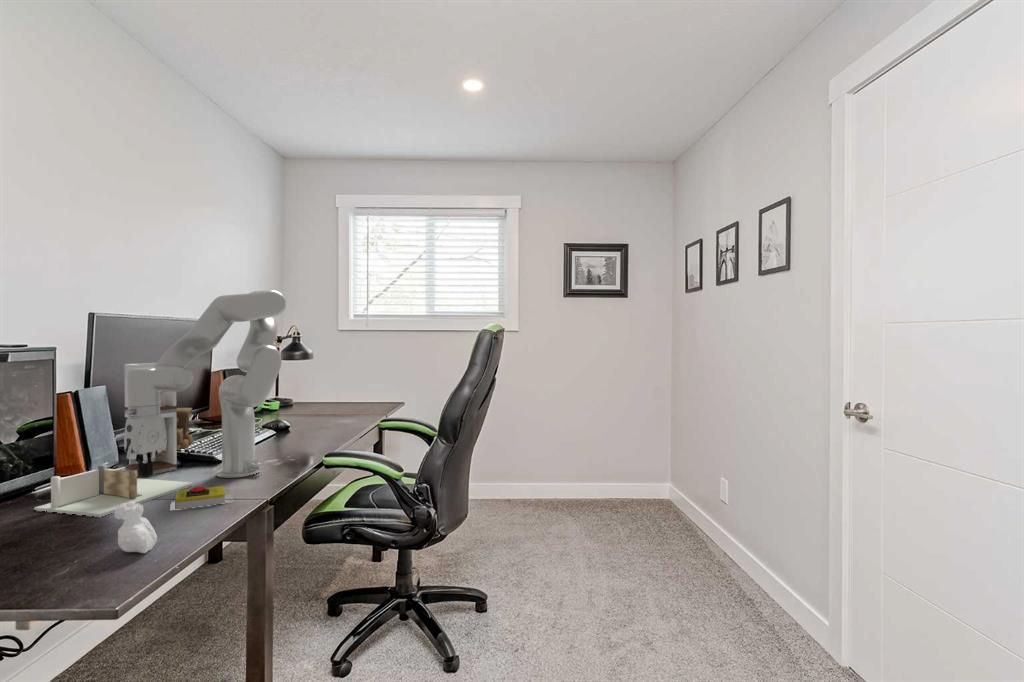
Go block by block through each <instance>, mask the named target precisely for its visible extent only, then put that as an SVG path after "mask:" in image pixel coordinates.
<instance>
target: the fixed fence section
mask: <svg viewBox="0 0 1024 682" xmlns="http://www.w3.org/2000/svg"><path fill="white" fill-rule="evenodd" d="M107 465H108V464H98V465H97V469H94V470H93V469H92V470H89V471H88V470H87V471H84V472H80V473H78V474H77V473H76V474H73V475H68V476H65V477H61V476H60V475H59V476H58V475H56V476H51V477H50V503H51V508H58V507H60V506H63V505H66V504H70V503H73V502H76V501H80V500H83V499H86V498H90V497H93V496H96V495H99V494H104V469H108V468H107V467H108V466H107Z"/></svg>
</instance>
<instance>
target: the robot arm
mask: <svg viewBox="0 0 1024 682" xmlns="http://www.w3.org/2000/svg"><path fill="white" fill-rule="evenodd" d="M286 306H287V300H286V298H285V296H284V295H283V294H282V292H280V291H277V290H273V289H272V290H271V289H270V290H268V289H267V290H256V291H251V292H249V293H241V294H226V295H225V294H224V295H219V296H218V297H215V299H213V301H212V302H210V304H209V305H208V307H207V308H206V309H205V310H204V312H203V313H202V314H201V315H200V316H199V318H198V320H197V321H196V322H195V323H194V324H193V326H192V327H191V329H189V331H188V332H187V333H185V334H183V335H182V337H180V338H179V339H178V340H177V341H176V342H175V343H173V345H171V346H170V347H169V348H168V349H167V350H166V351H165V352H164V353H163V355H162V356H161V357H160V358H159V359H158V361H157V362H155V363H156V364H155V366H154V367H153V368H150V367H147V368H133V369H130V370H129V371H128V373H127V386H128V410H127V411H126V414H127V415H128V418H127V417H126V421H125V426H124V435H123V436H124V437H123V443H124V444H123V446H124V452H125V453H126V459H127V460H129V459H134V460H135V461H136V463H138V466H139V476H138V477H139V478H149V477H151V476H153V475H154V474H153V462H152V461H154V460H155V456H156V455H157V453H159V452H161V451H162V450H163V448H165V447H166V445H167V438H166V428H165V422H164V418H163V415H162V414H160V391H171V392H176V393H178V392H183V391H185V390H186V389H189V387H191V385H192V383H193V381H194V376H193V373H192V372H191V371H190V369H188V368H187V366H188V365H189V364H190V363H191V362H193V360H195V359H197V358H198V357H199V356H201V355H203V354H206V353H208V352H210V351H211V350H213V349H214V348H216V347H217V346H218V344H219V343H220V342H221V340H222V339H223V337H224V336H225V335H226V334H227V332H228V331H229V329H230V328H231V327H232V325H233V324H235V323H241V322H242V323H243V322H249V330H248V332H247V335H246V338H245V339H244V342H243V344H242V346H241V348H240V350H239V352H238V355H237V358H236V365H237V367H238V368H239V370H240V371H242V372H245V373H246V374H245V375H242V374H241V375H239V374H234V375H231V376H228V377H226V378H225V379H224V380H223V381H222V382H221V383H220V385H219V388H218V398H219V403H220V410H221V468H220V469H218V470H217V471H216V473H215V475H216V476H217V477H218V478H222V479H233V478H234V479H235V478H236V479H237V478H245V477H250V476H254V475H256V473H257V474H259V473H258V472H261V471H262V470H263V468H264V466H265V463H264V462H258V461H259V459H258V458H257V457H256V443H255V442H256V431H255V429H256V426H255V425H256V417H255V410H254V408H256V407H260V406H261V405H262V404H264V403H265V402H266V400H267V399H268V397H269V396H270V395H271V392H272V390H273V387H274V384H275V382H276V380H277V378H278V376H279V373H280V370H281V367H282V355H281V353H280V351H279V350H278V348H276V347H275V346H274V344H275V341H276V338H277V335H278V324H277V321H276V317H277V316H279V315H281V314H282V313H283V312H284V311H285V309H286ZM253 474H254V475H253ZM249 475H250V476H249Z"/></svg>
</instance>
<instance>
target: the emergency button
mask: <svg viewBox="0 0 1024 682" xmlns="http://www.w3.org/2000/svg"><path fill="white" fill-rule="evenodd" d="M225 489H226V488H225V486H224V485H222V486H211V487H206V486H193V487H190V489H186V490H184V489H183V490H179V491H176V496H175V500H174V501H175V509H184V508H192V507H199V506H207V505H214V504H221V503H225V495H226V490H225Z"/></svg>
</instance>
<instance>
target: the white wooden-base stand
mask: <svg viewBox="0 0 1024 682" xmlns="http://www.w3.org/2000/svg"><path fill="white" fill-rule="evenodd" d="M156 363H157V362H149V363H147V362H146V363H142V362H141V363H125V364H124V417H125V418H126V419H127V418H128V415H127V414H126V411H127V410H128V386H127V373H128V371H129V370H130V369H133V368H147V367H150V368H153V367H154V366H155V364H156ZM176 408H177V392H171V391H160V414H162V415H163V418H164V422H165V428H166V438H167V445H166V447H165V448H163V450H162V451H161V452H159V453H157V455H156V456H155V460H154V461H152V462H153V475H158V474H157V473H159V474H163V473H162V472H164V473H168V472H167V471H169V472H173V471H172V470H174V471H178V464H177V463H178V458H177V456H178V455H177V417H176ZM128 460H129V462H128V464H126V465H125V466H124V471H132V470H137V477H139V466H138V463H136V461H135V460H134V459H128Z"/></svg>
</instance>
